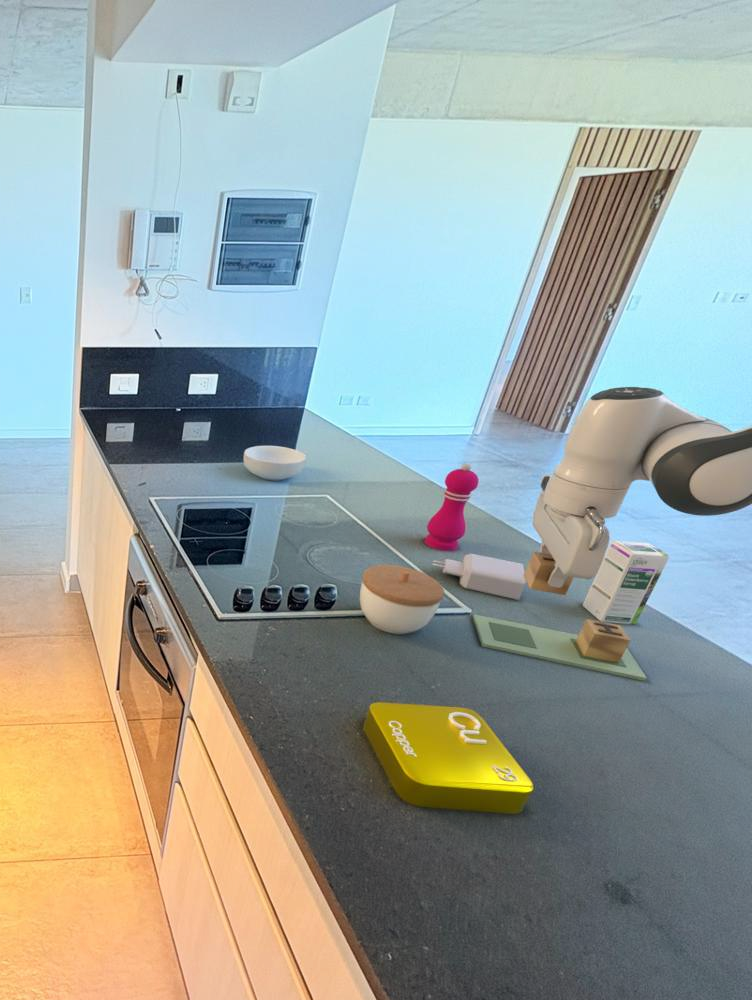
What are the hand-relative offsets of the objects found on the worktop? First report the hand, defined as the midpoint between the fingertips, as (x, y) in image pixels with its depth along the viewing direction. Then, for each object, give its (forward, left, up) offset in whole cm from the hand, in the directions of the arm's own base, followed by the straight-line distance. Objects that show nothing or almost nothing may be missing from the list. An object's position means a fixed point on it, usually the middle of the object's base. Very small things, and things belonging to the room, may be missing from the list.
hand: (548, 576), depth 98 cm
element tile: (+15, +35, -15) cm, 41 cm away
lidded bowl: (+19, 0, -15) cm, 24 cm away
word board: (-6, -4, -15) cm, 17 cm away
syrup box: (-18, -20, -15) cm, 31 cm away
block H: (-12, -4, -14) cm, 19 cm away
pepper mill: (+7, -40, -15) cm, 44 cm away
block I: (0, 0, -2) cm, 2 cm away
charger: (+3, -24, -15) cm, 29 cm away
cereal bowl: (+47, -71, -15) cm, 87 cm away
